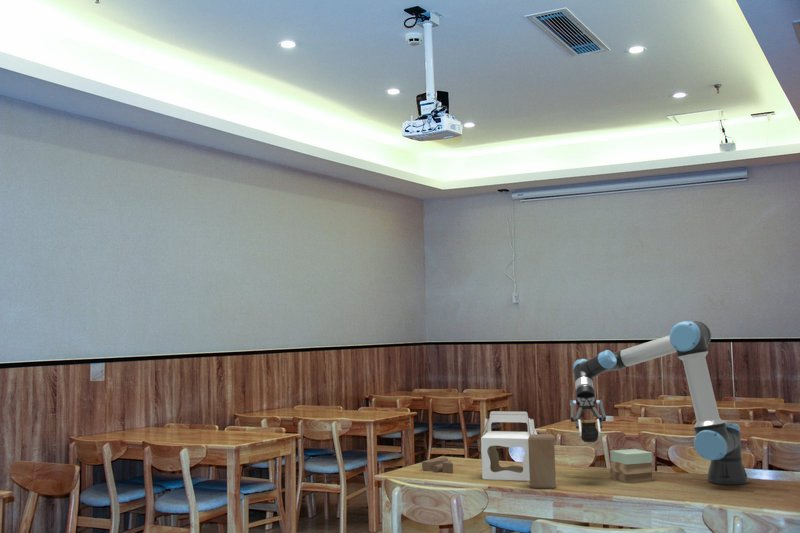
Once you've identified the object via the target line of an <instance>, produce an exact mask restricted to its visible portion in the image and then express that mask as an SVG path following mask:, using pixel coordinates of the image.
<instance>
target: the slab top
mask: <svg viewBox="0 0 800 533" xmlns="http://www.w3.org/2000/svg"><path fill="white" fill-rule="evenodd" d="M609 457H610V460H611V461H615V462H619V463H623V464H639V463H652V464H653V452H651V451H646V450H643V449H642V450H641V449H636V448H630V449H628V448H627V449H618V450H617V449H615V450H609ZM610 460H609V461H610Z"/></svg>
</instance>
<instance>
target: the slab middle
mask: <svg viewBox="0 0 800 533" xmlns="http://www.w3.org/2000/svg"><path fill="white" fill-rule="evenodd" d="M609 466H610V467H609V469H610V470H612V471H616V472H619V473H623V474H639V473H651V472H652V473H653V462H652V463H639V464H623V463H619V462H615V461H611V460H609ZM610 470H609V471H610Z"/></svg>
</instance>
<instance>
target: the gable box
mask: <svg viewBox="0 0 800 533" xmlns="http://www.w3.org/2000/svg"><path fill="white" fill-rule="evenodd" d="M493 423H525V424H526V427H527V431H521V430H520V431H519V430H517V431H516V430H515V431H513V430H508V431H507V430H501V431H500V430H493V429H492V424H493ZM535 427H536V426H535V419H534V418H530V417H529V414H528V411H520V410H519V411H507V410H506V411H505V410H502V411H501V410H499V411H498V410H496V411H494V410H493V411H490V413H489V418H484V429H483V431H482V434H481V437H480V446H481V447H480V448H481V453H480V454H481V475H482V480H492V481H493V480H495V481H497V480H498V481H517V482H520V481H521V482H530V474H529V448H528V438H529V436H530V435H531V434H538V432H537V430H536V428H535ZM498 446H499V447H504V448H518V447H519V448H522V449H524V452H525V453H524V456H523V459H522V466H520V465H508V466H501V465H500V456H499V452H498V450H497V447H498Z"/></svg>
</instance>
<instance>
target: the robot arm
mask: <svg viewBox="0 0 800 533" xmlns="http://www.w3.org/2000/svg"><path fill="white" fill-rule="evenodd" d="M711 339H712V332H711V329H710V328H709V326H708V325H707V324H705V323H703V322H701V321H699V320H698V321H697V320H696V321H695V320H694V321H693V320H684V321H680V322H678V323H676V324H675V325H673V327H672V328H671V329H670V332H669V335H666V336H663V337H659V338H657V339H653V340H650V341H647V342H643V343H640V344H637V345H634V346H631V347H627V348H624V349H622V350H618V351H615V352H612V351H611V350H609V349H606V350H603V351H600V352H599V353H598V354H596V355H595V356H593V357H591V358H590V359H586V358H580V359H579V358H578V359H577V360H575V361H574V363H573V366H572V367H573V369H572V370H573V371H572V372H573V376H574V384H575V385H574V386H575V397H576V398H575V400H573V399H570V400H569V406H570V422H571V423H575V429H577V430H578V434H579V435H578V436H579V437H581V436H582V431H581V429H582V421H581V418H580V417H581V415H582V413H583V411H584V410H587V409H588V410H590V411H591V412H592V414H593V415H594V417H595V418H596V429H597V431H598V437H601V434H602V433H601V429H603V422H607V416H606V412H605V409H604V403H603V402H604V399H602V398H600V399H597V398H596V396H595V389H594V388H595V387H594V380H593V379H594V378H595V377H598V376H599V375H601V374H602V373H605V372H612V371H621V370H622V369H625V368H627V367H630V366H634V365H637V364H641V363H644V362H648V361H651V360H655V359H659V358H661V357H666V356H668V355H671V354H675V353H676V355H677V356H676V357H677V359H679V360H681V361H682V364H683V367H684V372H685V376H686V380H687V385H688V390H689V393H690V397H691V403H692V406H693V411H694V414H695V420H696V422H695V424H694V425H693V429H694V433H695V436H694V439H693V446H694V449H695V451H696V453H697V454H698V455H699V456H700V457H701V458H703V459H705V460H708V461H710V464H709V467H708V471H707V474H706V475H707V476H706V481H707V482H709V483H712V484H717V485H731V486H732V485H733V486H735V485H745V484H747V483H749V477H748V474H747V471H746V470H745V466H744V464H743V457H742V440H741V439H742V438H741V428H740V425H739V424H738V423H726V421H724V420H723V419H721V417H720V414H719V409H718V406H717V401H716V396H715V393H714V389H713V384H712V380H711V376H710V372H709V368H708V367H709V366H708V364H707V363H708V362H707V358H706V357H707V355H708V354H709V351H708V345H709V344H710V343H711ZM596 404H597V406H598V408H599V410H598V409H597V408H596V406H595V405H596ZM576 405H578V409H577V413H576V415H575V406H576ZM599 412H600V413H599Z"/></svg>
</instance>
